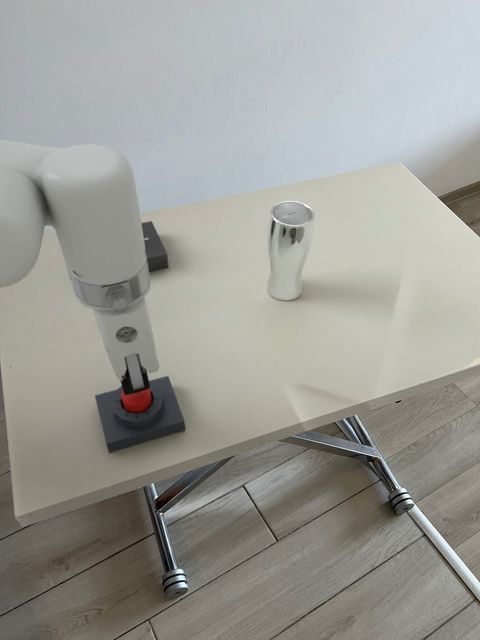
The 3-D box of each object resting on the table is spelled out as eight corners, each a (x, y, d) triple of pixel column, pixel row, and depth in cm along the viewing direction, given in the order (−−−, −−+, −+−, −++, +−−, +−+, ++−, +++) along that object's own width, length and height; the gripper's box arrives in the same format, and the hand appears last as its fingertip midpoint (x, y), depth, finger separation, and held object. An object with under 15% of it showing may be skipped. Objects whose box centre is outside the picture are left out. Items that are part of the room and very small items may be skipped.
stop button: (126, 416, 67) (124, 408, 66) (120, 394, 69) (118, 386, 68) (154, 408, 68) (153, 400, 67) (148, 387, 70) (146, 379, 69)
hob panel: (92, 284, 88) (88, 269, 86) (81, 249, 94) (77, 234, 92) (168, 267, 92) (167, 253, 89) (153, 234, 98) (151, 220, 95)
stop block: (109, 453, 67) (103, 436, 64) (97, 404, 72) (92, 386, 69) (185, 430, 70) (183, 413, 67) (169, 385, 75) (167, 367, 72)
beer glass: (258, 296, 88) (262, 220, 77) (271, 271, 92) (277, 195, 81) (298, 307, 87) (309, 231, 76) (309, 281, 91) (321, 205, 80)
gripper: (167, 316, 49) (181, 426, 63) (131, 225, 58) (151, 338, 72) (84, 336, 47) (118, 445, 61) (60, 238, 56) (95, 352, 70)
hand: (136, 387), depth 66 cm, fingers closed
